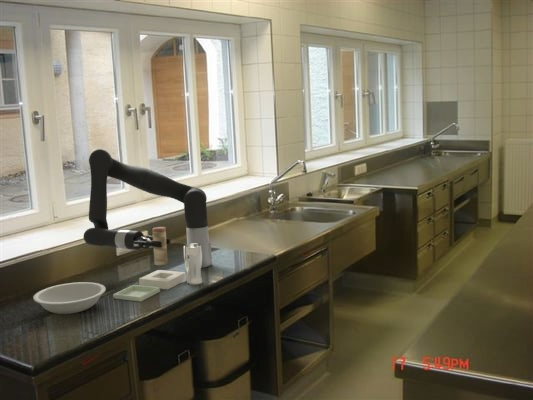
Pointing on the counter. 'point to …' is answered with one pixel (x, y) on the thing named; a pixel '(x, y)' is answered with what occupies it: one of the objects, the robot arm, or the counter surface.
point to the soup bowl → (69, 297)
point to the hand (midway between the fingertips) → (165, 242)
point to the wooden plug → (160, 252)
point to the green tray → (136, 293)
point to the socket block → (163, 279)
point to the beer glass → (193, 263)
